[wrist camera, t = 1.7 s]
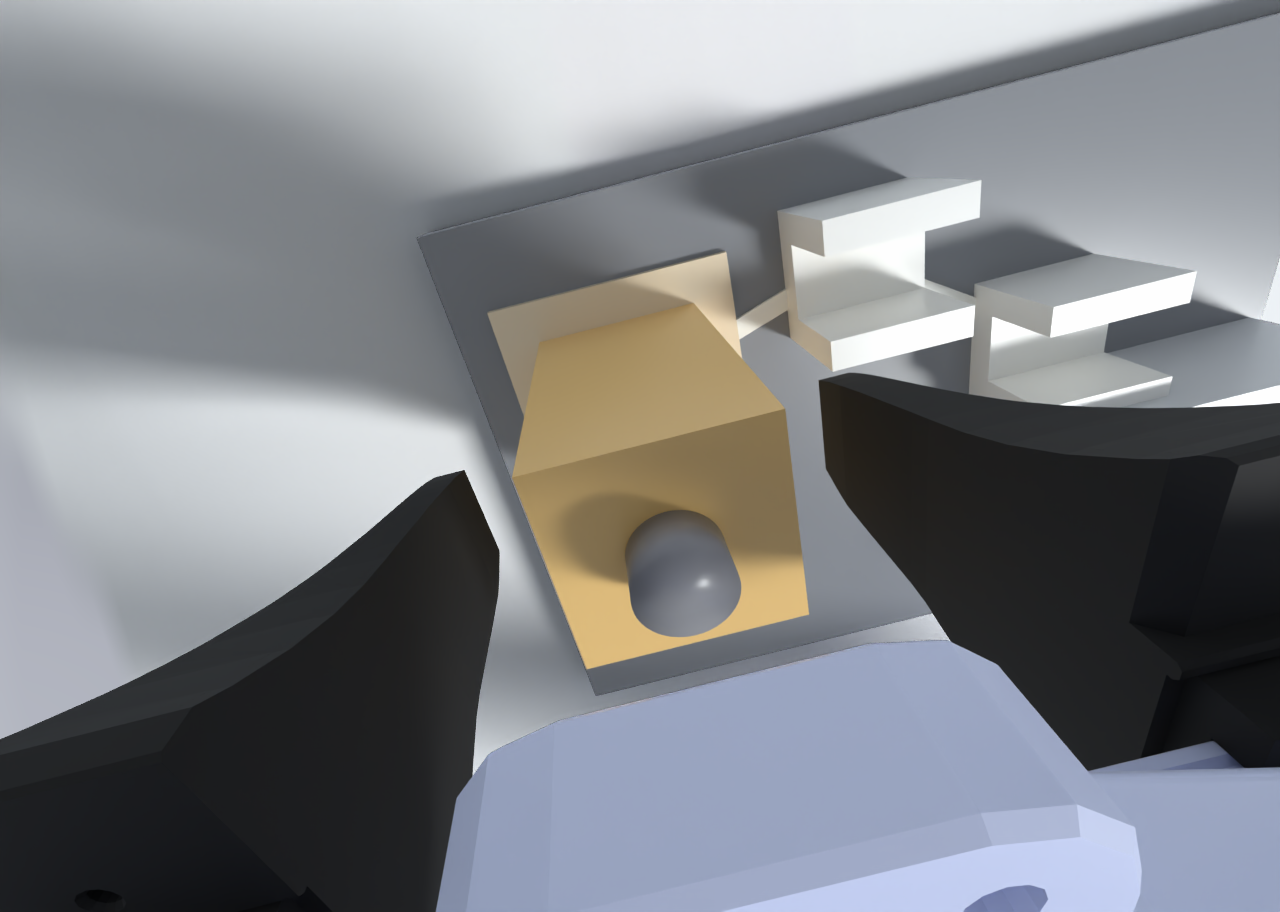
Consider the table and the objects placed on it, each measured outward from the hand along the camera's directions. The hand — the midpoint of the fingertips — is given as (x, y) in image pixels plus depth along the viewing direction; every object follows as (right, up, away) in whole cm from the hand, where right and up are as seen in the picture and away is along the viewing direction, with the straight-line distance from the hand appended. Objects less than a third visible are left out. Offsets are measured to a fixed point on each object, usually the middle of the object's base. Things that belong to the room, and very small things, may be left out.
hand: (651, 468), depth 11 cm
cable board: (+7, +2, +6) cm, 10 cm away
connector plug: (0, +2, +4) cm, 4 cm away
